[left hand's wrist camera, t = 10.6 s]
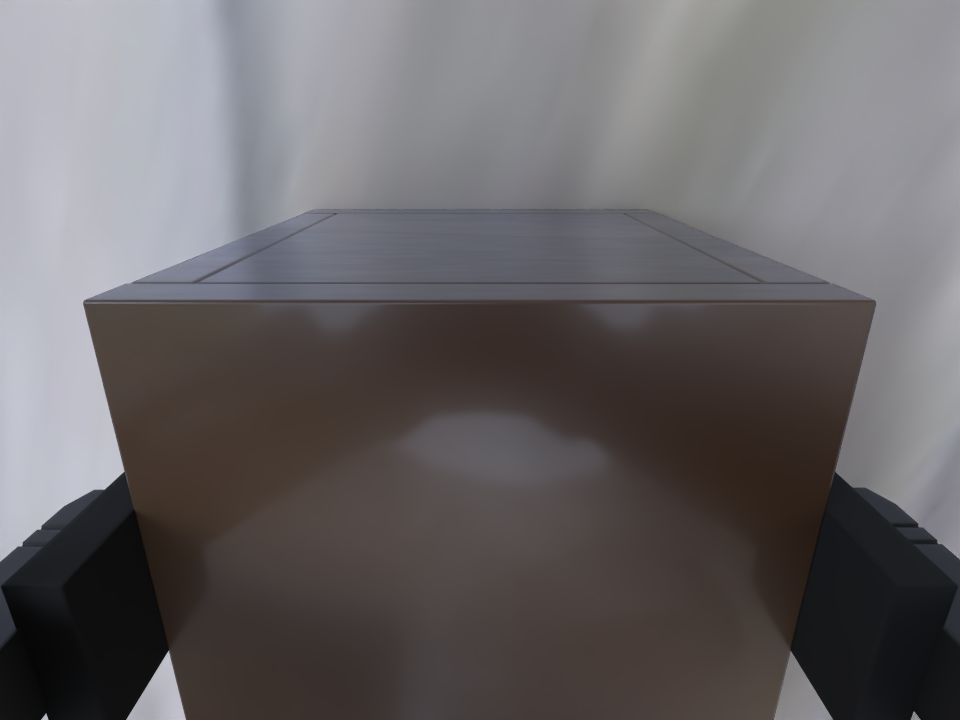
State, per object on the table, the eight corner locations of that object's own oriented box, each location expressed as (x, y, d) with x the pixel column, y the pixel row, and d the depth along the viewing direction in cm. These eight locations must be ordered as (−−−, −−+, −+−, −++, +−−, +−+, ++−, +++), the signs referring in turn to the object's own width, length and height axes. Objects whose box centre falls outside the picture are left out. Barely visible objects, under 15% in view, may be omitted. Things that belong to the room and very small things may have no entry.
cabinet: (601, 687, 24) (687, 1074, 14) (358, 687, 24) (272, 1072, 14) (649, 209, 17) (878, 300, 7) (311, 209, 17) (80, 300, 7)
